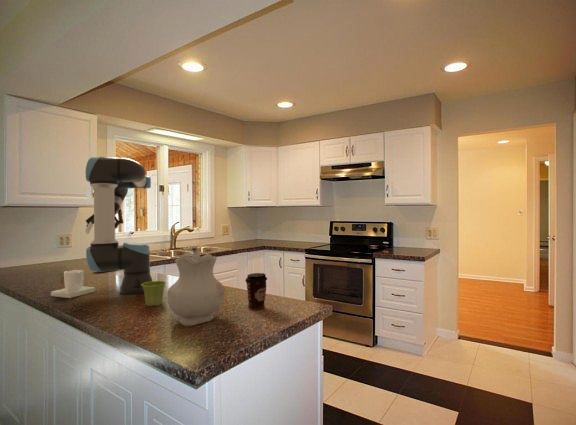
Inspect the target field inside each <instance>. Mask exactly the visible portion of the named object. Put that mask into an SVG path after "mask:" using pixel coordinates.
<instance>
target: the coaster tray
mask: <svg viewBox="0 0 576 425" xmlns="http://www.w3.org/2000/svg"><path fill="white" fill-rule="evenodd" d="M95 292H96V287H94V286H84V285H83V290H81V291H77V292H73V293H66V290H65V288H61V289H58V290H53V291H50V297H58V298H67V299H72V298H77V297H79V296H83V295H87V294H91V293H95Z"/></svg>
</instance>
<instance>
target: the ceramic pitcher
mask: <svg viewBox="0 0 576 425" xmlns="http://www.w3.org/2000/svg"><path fill="white" fill-rule="evenodd" d="M191 250H192V255H191V254H190V253H184V254H181V255H179V258H175V260H174V262H175V264H176V267H177V268H178V272H179V273H178V274H179V277H178V279H177V280H176V281H175V282H174V283H172V285H171V286H170V287H169V288H168V290H167V292H166V293H167V295H166V296H167V297H166V299H167V304H168V307H169V309H170V310H171V311H172V313H173V314H174V315H176V316H177V317H180V318H179V319H178V321H179V324H181V325H182V326H185V327H192V326H196V325H199V324H202V323H206V322H207V323H208V322H211V321H213V320H214V318H215V317H214V315H213V313H216V312H217V311H218V310H219V309H220V308H221V306H222V304H223V302H224V300H225V296H226V295H225V294H226V292H225V290H226V288H225V286H224V284H222V282H221V281H219V280H218V279H216V278H215V275H214V267H215V264H216V263H217V262H216V261H217V256H216V255H215V256H213V255H212V254H211V253H206V254H205V255H203V256H201V255H200V254H201V253H200V250H199V248H198V247H196V246H192V248H191Z"/></svg>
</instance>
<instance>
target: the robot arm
mask: <svg viewBox="0 0 576 425" xmlns="http://www.w3.org/2000/svg"><path fill="white" fill-rule="evenodd" d="M85 165H86V167H85V181H86V182H88V183H89V185H90V187H91V188H92V189H93V214H92V215H91V216H89V217H88V218H86V220H85V222H86V224H87V225H86V228H85V230H84V231H85V233H86V235H89V234H90V232H91V230H92V229H93V230H94V231H93V241H91V242H90V246H87V248H86V249H85V250H86V253H85V254H86V256H85V257H86V263H87V266H88V268H89V270H90V271H92V272H96V273H98V272H99V271H101V272H100V273H104V272H103V271H107V272H112V271H123V277H122V282H121V284H120V287H119V292H120V293H121V294H124V295H134V294H135V295H137V294H144V290H143V287H142V286H141V284H143V283H146V282H151V281H153V277H152V276H151V263H150V262H151V261H150V260H151V259H150V258H151V257H150V255H151V252H150V251H151V250H150V246H149V245H148V243H143V242H135V241H134V242H130V241H128V242H127V241H126V242H123V243H122V245H120V244H119V241H118V240H117V239H116V236H115V235H116V229H117V228H118V227H119V225H120V224H121V225H122V224H124V220H123V215H122V214H123V211H122V209H121V208H120V207H122V205H123V203H124V202H123V201H124V200H125V199H126V196H127V195H128V192H129V189H145V190H146V189H151V186H152V185H151V184H152V179H151V176H148V175H146V173H147V172H146V169H145V167H144V166H143V165H142V164H141V163H139V162H138V161H135V160H134V159H131V158H127V157H110V156H108V157H107V156H97V157H96V156H95V157H94V156H93V157H90V158H89V159H88V160H87V162H86V164H85ZM117 214H118V215H117ZM116 215H117V216H118V218H117V217H116ZM93 227H94V228H93Z"/></svg>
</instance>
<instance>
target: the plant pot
mask: <svg viewBox="0 0 576 425" xmlns="http://www.w3.org/2000/svg"><path fill="white" fill-rule="evenodd" d="M166 284H167V282H166V281H163V280H156V281H155V280H152V281H151V282H146V283H143V284H141V286H142V287H143V290H144V293H143V294H144V295H143V296H144V300H145V301H144V302H145V306H146V307H152V306H155V307H158V306H160V305H162V303H163V299H164V298H163V297H164V290H165V286H166Z"/></svg>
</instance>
